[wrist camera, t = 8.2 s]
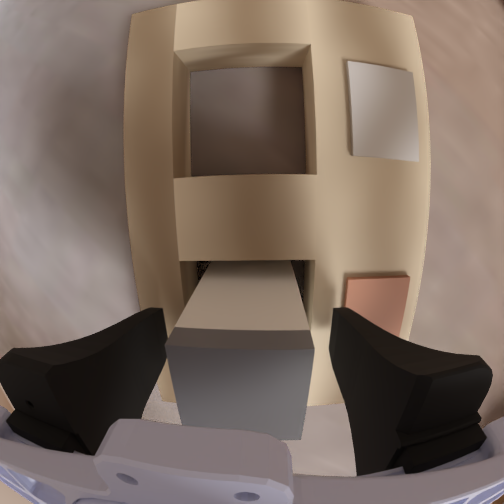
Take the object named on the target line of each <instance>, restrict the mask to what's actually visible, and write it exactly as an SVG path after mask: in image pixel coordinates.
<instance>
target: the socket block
mask: <svg viewBox="0 0 504 504" xmlns="http://www.w3.org/2000/svg"><path fill="white" fill-rule="evenodd" d="M241 67H302V76H303V94H304V116H305V150H306V174H241V175H215V176H196V177H191V144H190V72H193V71H202V70H212V69H224V68H241ZM123 140H124V175H125V192H126V206H127V218H128V228H129V237H130V246H131V254H132V261H133V268H134V275H135V281H136V287H137V293H138V299H139V305H140V310H141V311H142V310H144V309H147V308H150V307H154V308H163V312H164V318H165V324H166V330H167V335H168V338H169V336H170V334H171V332H172V330H173V329H174V327H175V325H176V323H177V321H178V319H179V318H180V316H181V314H182V312H183V310H184V309H185V307H186V305H187V303H188V301H189V300H190V298H191V296H192V294H193V292H194V291H195V289H196V287H197V285H198V273H197V261H240V260H305V273H304V297H303V306H304V310H305V313H306V317H307V321H308V325H309V328H310V332H311V336H312V340H313V344H314V347H315V353H314V360H313V368H312V375H311V382H310V389H309V395H308V402H307V406H317V405H329V404H340V403H344V400H343V397H342V394H341V391H340V388H339V385H338V383H337V380H336V377H335V374H334V371H333V368H332V364H331V359H330V354H329V340H330V332H331V323H332V314H333V308H341V307H348V308H350V309H351V310H353V311H355V312H356V313H358V314H360V315H361V316H363V317H364V318H366V319H367V320H369V321H370V322H372V323H374V324H375V325H377V326H379V327H380V328H382V329H384V330H386V331H388V332H389V333H391V334H393V335H395V336H397V337H399V338H402V339H404V340H407V341H408V339H409V335H410V331H411V327H412V323H413V318H414V314H415V309H416V304H417V299H418V294H419V288H420V283H421V277H422V270H423V263H424V256H425V248H426V239H427V230H428V218H429V203H430V170H431V161H430V129H429V114H428V103H427V93H426V85H425V78H424V71H423V64H422V59H421V53H420V48H419V43H418V38H417V33H416V29H415V25H414V21H413V17H412V16H410V15H406V14H403V13H399V12H395V11H391V10H387V9H383V8H378V7H374V6H369V5H364V4H359V3H353V2H346V1H340V0H199V1H192V2H186V3H180V4H174V5H169V6H164V7H160V8H155V9H151V10H147V11H143V12H139V13H135V14H132V17H131V24H130V32H129V40H128V49H127V60H126V73H125V89H124V123H123ZM157 384H158V387H159V391H160V394H161V398H162V401H166V402H174V403H177V402H176V398H175V394H174V389H173V385H172V380H171V375H170V370H169V365H168V360H167V359H166V362H165V365H164V367H163V369H162V371H161V374H160V376H159V378H158V380H157Z"/></svg>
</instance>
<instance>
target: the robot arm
mask: <svg viewBox="0 0 504 504" xmlns="http://www.w3.org/2000/svg"><path fill="white" fill-rule="evenodd" d="M167 340H168V335H167V330H166V324H165V318H164V312H163V308H154V307H150V308H147V309H144V310H142V311H140V312H138V313H136V314H134V315H132V316H130V317H128V318H126V319H124V320H122V321H121V322H119V323H117V324H115V325H112V326H110V327H108V328H106V329H104V330H102V331H100V332H97V333H95V334H92V335H89V336H87V337H84V338H81V339H77V340H74V341H70V342H66V343H62V344H57V345H51V346H44V347H35V348H13V349H11V350H10V351H9V352H8V353H7V354H5V355H4V356H3V357H2V358H1V359H0V383H1V385H2V387H3V389H4V391H5V392H6V394H7V396H8V398H9V399H10V401H11V403H12V405H13V406H14V408H15V410H14V411H13V413H12V414H11V413H10V412H9V411H8V410H7V409H5V408H4V407H2V406H0V481H2V482H3V483H4V484H6V485H7V486H9V487H10V488H11V489H13V490H14V491H16V492H17V493H19V494H20V495H22V496H23V497H24V498H26V499H27V500H29V501H30V502H32V503H34V504H490V503H492V502H494V501H495V500H497V499H498V498H500V497H501V496H502V495H503V494H504V416H503V417H501V418H499V419H497V420H495V421H493V422H490V423H489V424H487V425H486V426H485V427H484V428H483V429H481V427H480V426H479V424H478V423H479V422H480V421H481V416H480V415H479V413H478V412H477V411H478V410H479V408H480V406H481V404H482V402H483V400H484V399H485V397H486V395H487V393H488V391H489V388H490V386H491V382H492V376H493V374H492V369H491V368H490V367H489V366H488V365H487V364H486V363H485V361H484V360H483V359H482V358H481V357H480V356H478V355H464V354H454V353H448V352H443V351H438V350H434V349H430V348H427V347H423V346H420V345H417V344H414V343H411V342H409V341H407V340H404V339H402V338H399V337H397V336H395V335H393V334H391V333H389V332H388V331H386V330H384V329H382V328H380V327H379V326H377V325H375V324H374V323H372V322H370V321H369V320H367V319H366V318H364V317H363V316H361V315H360V314H358V313H356V312H355V311H353V310H351V309H350V308H348V307H341V308H333V314H332V323H331V332H330V340H329V354H330V359H331V364H332V368H333V371H334V374H335V377H336V380H337V383H338V385H339V388H340V391H341V394H342V397H343V400H344V403H345V406H346V409H347V413H348V417H349V422H350V428H351V433H352V440H353V446H354V454H355V462H356V472H357V476H356V477H337V476H317V475H304V474H294V473H293V472H292V456H291V454H290V451H289V449H288V446H287V444H286V443H284V442H282V441H280V440H278V439H276V438H274V437H273V436H271V435H269V434H267V433H261V432H255V431H249V430H240V429H219V428H205V427H194V426H185V425H177V424H169V423H162V422H156V421H149V420H144V419H141V417H142V414H143V411H144V408H145V405H146V403H147V401H148V399H149V396H150V394H151V392H152V390H153V388H154V386H155V384H156V382H157V380H158V378H159V376H160V374H161V371H162V369H163V367H164V365H165V362H166V359H167V355H166V349H165V343H166V341H167Z"/></svg>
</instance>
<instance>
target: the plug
mask: <svg viewBox="0 0 504 504" xmlns="http://www.w3.org/2000/svg"><path fill="white" fill-rule="evenodd" d="M165 349H166V355H167V360H168V365H169V370H170V375H171V380H172V385H173V389H174V394H175V398H176V402H177V407H178V411H179V415H180V419H181V423H182V425H185V426H194V427H205V428H219V429H240V430H249V431H255V432H261V433H267V434H269V435H271V436H273V437H274V438H276V439H278V440H301V436H302V431H303V425H304V420H305V414H306V408H307V402H308V395H309V389H310V382H311V375H312V368H313V360H314V353H315V347H314V344H313V340H312V336H311V332H310V328H309V325H308V321H307V317H306V313H305V310H304V306H303V303H302V299H301V295H300V292H299V288H298V285H297V281H296V278H295V274H294V271H293V267H292V264H291V260H240V261H211V262H210V264H209V266H208V268H207V269H206V271H205V273H204V275H203V276H202V278H201V280H200V282H199V284H198V285H197V287H196V289H195V291H194V292H193V294H192V296H191V298H190V300H189V301H188V303H187V305H186V307H185V309H184V310H183V312H182V314H181V316H180V318H179V319H178V321H177V323H176V325H175V327H174V329H173V330H172V332H171V334H170V336H169V338H168V340H167V341H166V343H165Z"/></svg>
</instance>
